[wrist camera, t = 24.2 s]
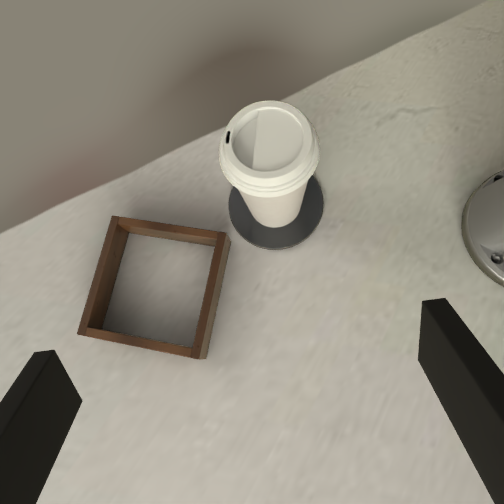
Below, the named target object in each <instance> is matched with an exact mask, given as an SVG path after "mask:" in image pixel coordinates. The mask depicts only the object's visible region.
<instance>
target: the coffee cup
mask: <svg viewBox="0 0 504 504" xmlns="http://www.w3.org/2000/svg"><path fill="white" fill-rule="evenodd" d="M319 157H320V142H319V138H318V135H317V133H316V130H315V128H314V127H313V125H312V123H311V122H310V121H309V120H308V118H307V117H306V116H305V115H303V114H302V113H301V112H300V111H299V110H298V109H297V108H295V107H293V106H292V105H290V104H287V103H284V102H280V101H272V100H271V101H260V102H256V103H253V104H251V105H248V106H246V107H245V108H243V109H242V110H240V111H239V112H238V113H237V114H236V115H235V116H234V117H233V118H232V119H231V121H230V122H229V124H228V125H227V127H226V129H225V131H224V133H223V135H222V138H221V141H220V146H219V162H220V166H221V169H222V171H223V173H224V175H225V177H226V178H227V179H228V181H229V182H230V183H231V184H232V185H233V186H235V187H236V188H237V189H238V190H239V192H240V194H241V195H242V197H243V199H244V201H245V203H246V204H247V206H248V208H249V210H250V212H251V213H252V215H253V217H254V218H255V219H256V220H257V221H258V222H259V223H260V224H262V225H264V226H267V227H273V228H276V227H282V226H285V225H287V224H289V223H291V222H292V221H293V220H294V219H295V218H296V217H297V215H298V213H299V211H300V208H301V204H302V200H303V197H304V193H305V189H306V186H307V182H308V179H309V178H310V177H311V176H312V174H313V173H314V171H315V169H316V167H317V165H318V162H319Z"/></svg>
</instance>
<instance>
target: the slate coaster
mask: <svg viewBox="0 0 504 504" xmlns="http://www.w3.org/2000/svg"><path fill="white" fill-rule="evenodd" d="M322 212H323V195H322V191H321V189H320V186H319V184H318V182H317V181H316V180H315V178H314V177H313V176H311V177H310V178H309V179H308V182H307V186H306V189H305V193H304V197H303V200H302V204H301V208H300V211H299V213H298V215H297V217H296V218H295V219H294V220H293V221H292V222H291V223H289V224H287V225H285V226H282V227H276V228H273V227H267V226H264V225H262V224H260V223H259V222H258V221H257V220H256V219H255V218H254V217H253V215H252V213H251V212H250V210H249V208H248V206H247V204H246V203H245V201H244V199H243V197H242V195H241V194H240V192H239V190H238V189H237V188H236V187H235V186H233V189H232V191H231V194H230V198H229V214H230V218H231V221H232V223H233V225H234V227H235V229H236V230H237V232H238V233H239V234H240V235H241V236H242V237H243V238H244V239H245V240H246V241H248V242H249V243H251V244H253V245H255V246H257V247H260V248H264V249H270V250H280V249H286V248H290V247H293V246H295V245H297V244H299V243H301V242H303V241H304V240H305V239H307V238H308V237H309V236H310V235H311V234H312V233H313V232H314V230H315V229H316V227H317V226H318V224H319V222H320V219H321V216H322Z"/></svg>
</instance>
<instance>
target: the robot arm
mask: <svg viewBox="0 0 504 504" xmlns="http://www.w3.org/2000/svg"><path fill="white" fill-rule="evenodd" d="M462 235H463V239H464V242H465V246H466V248H467V250H468V252H469V254H470V256H471V258H472V259H473V260H474V262H475V263H476V265H477V266H478V267H479V268H480V269H481V270H482V271H483V272H484V273H485V274H486V275H487V276H488V277H490V278H491V279H492V280H494V281H495V282H497V283H498V284H500V285H502V286H504V170H503V171H500V172H498V173H496V174H494V175H493V176H491V177H490V178H489V179H487V180H486V181H485V182H484V183H483V184H482V185H480V186H479V187H478V188H477V189H476V190H475V191H474V193H473V194H472V195H471V196H470V198H469V200H468V201H467V203H466V205H465V208H464V211H463V216H462ZM418 361H419V363H420V364H421V366H422V368H423V370H424V372H425V374H426V376H427V378H428V379H429V381H430V383H431V385H432V387H433V389H434V391H435V393H436V395H437V396H438V398H439V400H440V402H441V404H442V406H443V408H444V410H445V411H446V413H447V415H448V417H449V419H450V421H451V423H452V425H453V426H454V428H455V430H456V432H457V434H458V436H459V438H460V440H461V441H462V443H463V445H464V447H465V449H466V451H467V453H468V455H469V456H470V458H471V460H472V462H473V464H474V466H475V468H476V470H477V471H478V473H479V475H480V477H481V479H482V481H483V483H484V485H485V486H486V488H487V490H488V492H489V494H490V496H491V498H492V500H493V501H494V503H495V504H504V374H503V373H502V372H501V370H500V369H499V368H498V366H497V365H496V364H495V362H494V361H493V360H492V358H491V357H490V356H489V355H488V353H487V352H486V351H485V349H484V348H483V347H482V345H481V344H480V343H479V341H478V340H477V339H476V338H475V336H474V335H473V334H472V332H471V331H470V330H469V328H468V327H467V326H466V324H465V323H464V322H463V321H462V319H461V318H460V317H459V315H458V314H457V313H456V311H455V310H454V309H453V307H452V306H451V305H450V304H449V302H448V301H447V300H446V298H441V299H434V300H426V301H422V311H421V325H420V339H419V353H418ZM81 403H82V399H81V397H80V396H79V394H78V392H77V390H76V388H75V386H74V385H73V383H72V381H71V379H70V377H69V376H68V374H67V372H66V370H65V368H64V366H63V365H62V363H61V361H60V359H59V357H58V355H57V354H56V352H55V350H49V351H41V352H34V354H33V355H32V357H31V358H30V359H29V361H28V362H27V364H26V365H25V367H24V368H23V370H22V371H21V373H20V374H19V376H18V377H17V379H16V380H15V382H14V383H13V385H12V386H11V388H10V389H9V390H8V392H7V393H6V395H5V396H4V398H3V399H2V401H1V402H0V504H36V502H37V500H38V498H39V496H40V494H41V491H42V489H43V487H44V485H45V483H46V480H47V478H48V476H49V474H50V472H51V469H52V467H53V465H54V463H55V461H56V458H57V456H58V454H59V452H60V449H61V447H62V445H63V443H64V441H65V438H66V436H67V434H68V432H69V430H70V427H71V425H72V423H73V421H74V419H75V416H76V414H77V412H78V410H79V408H80V405H81Z"/></svg>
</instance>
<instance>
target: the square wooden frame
mask: <svg viewBox="0 0 504 504" xmlns="http://www.w3.org/2000/svg"><path fill="white" fill-rule="evenodd" d="M129 233H133V234H140V235H146V236H152V237H158V238H165V239H171V240H177V241H184V242H190V243H196V244H203V245H209V246H215V249H214V253H213V258H212V262H211V267H210V271H209V276H208V280H207V285H206V289H205V294H204V298H203V303H202V307H201V312H200V316H199V321H198V325H197V330H196V334H195V339H194V343H193V348H192V347H187V346H182V345H177V344H172V343H167V342H162V341H157V340H152V339H147V338H142V337H137V336H133V335H128V334H123V333H118V332H113V331H108V330H103V329H102V326H103V322H104V319H105V315H106V311H107V308H108V304H109V301H110V297H111V294H112V290H113V287H114V283H115V280H116V276H117V273H118V269H119V265H120V262H121V258H122V255H123V251H124V248H125V244H126V241H127V237H128V234H129ZM230 244H231V241H230V239H229V237H228V235H227V233H224V232H217V231H210V230H204V229H197V228H191V227H184V226H177V225H171V224H164V223H158V222H151V221H145V220H138V219H132V218H125V217H119V216H112V218H111V221H110V224H109V228H108V231H107V234H106V238H105V241H104V244H103V248H102V251H101V255H100V258H99V261H98V265H97V268H96V271H95V275H94V278H93V281H92V285H91V288H90V292H89V295H88V298H87V302H86V305H85V308H84V312H83V315H82V318H81V322H80V325H79V328H78V332H77V334H78V335H83V336H87V337H92V338H97V339H102V340H107V341H112V342H117V343H122V344H126V345H131V346H136V347H141V348H146V349H151V350H156V351H161V352H165V353H170V354H175V355H180V356H185V357H191V358H195V359H206V357H207V352H208V347H209V343H210V338H211V333H212V328H213V324H214V319H215V314H216V310H217V305H218V300H219V295H220V291H221V286H222V281H223V277H224V272H225V267H226V263H227V258H228V253H229V248H230Z"/></svg>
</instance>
